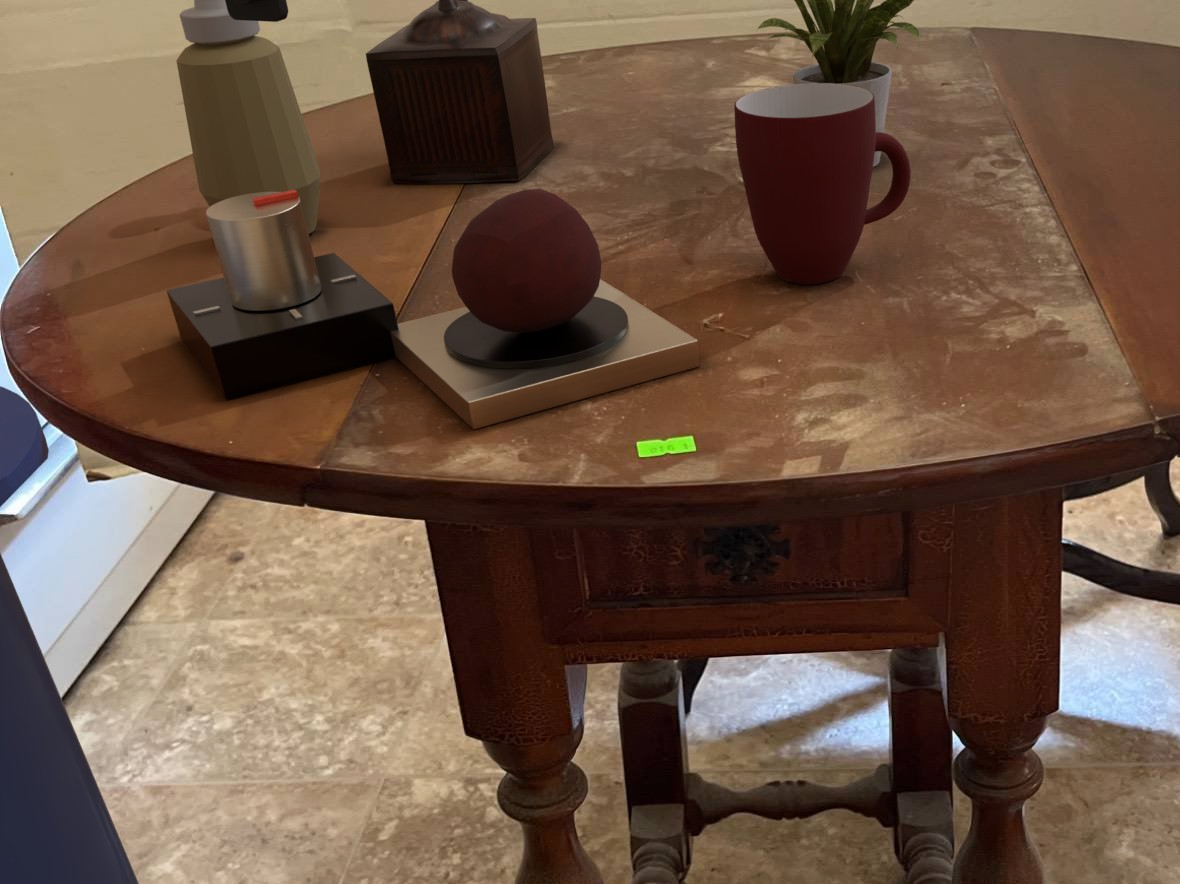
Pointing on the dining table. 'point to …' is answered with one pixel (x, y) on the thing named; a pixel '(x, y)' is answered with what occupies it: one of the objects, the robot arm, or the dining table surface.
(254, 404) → the dining table surface
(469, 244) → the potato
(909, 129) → the dining table surface
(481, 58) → the grooved wooden box
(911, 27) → the house plant
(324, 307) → the control panel
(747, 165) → the mug
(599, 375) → the hotplate
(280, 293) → the dial
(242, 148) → the squeeze bottle
